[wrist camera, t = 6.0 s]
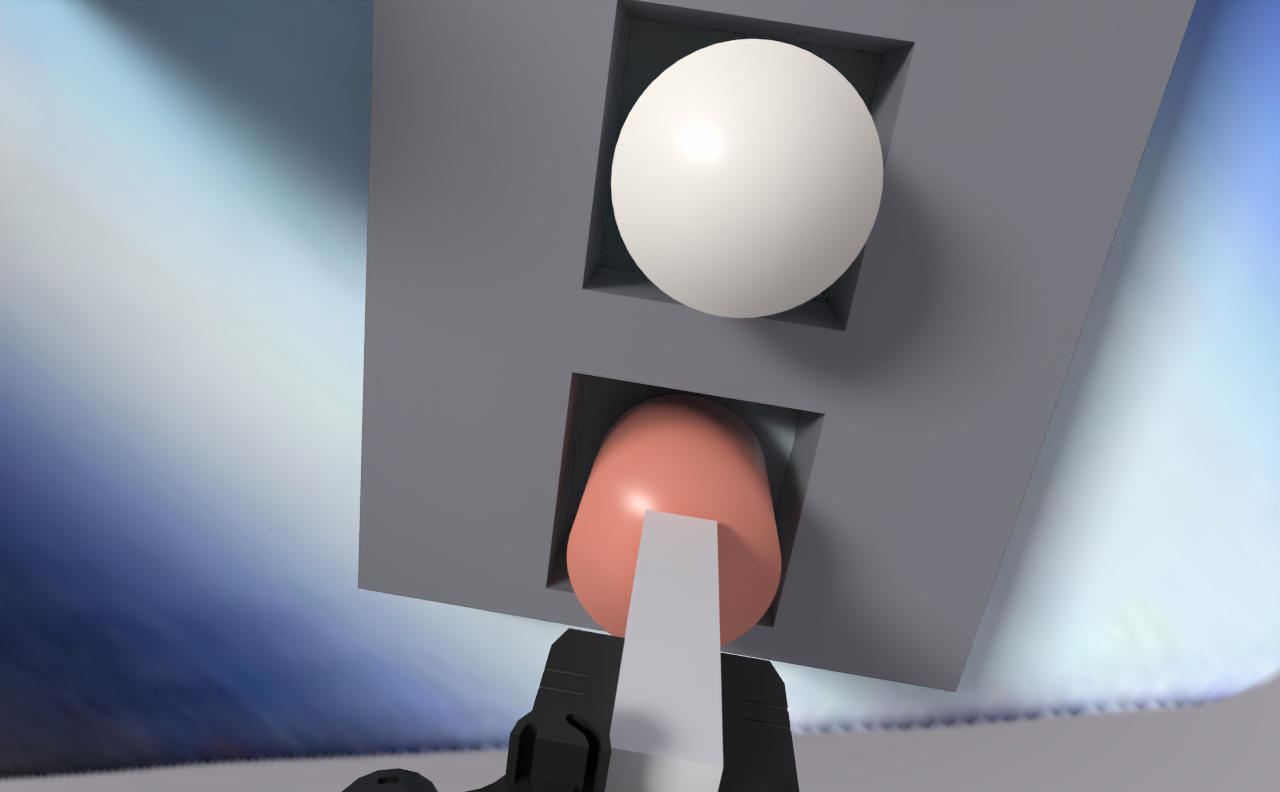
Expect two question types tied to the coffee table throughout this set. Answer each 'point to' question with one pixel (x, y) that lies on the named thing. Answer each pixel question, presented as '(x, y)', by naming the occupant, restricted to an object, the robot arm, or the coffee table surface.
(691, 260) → the ivory button
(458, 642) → the coffee table surface
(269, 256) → the coffee table surface
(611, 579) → the red button
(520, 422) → the tray
